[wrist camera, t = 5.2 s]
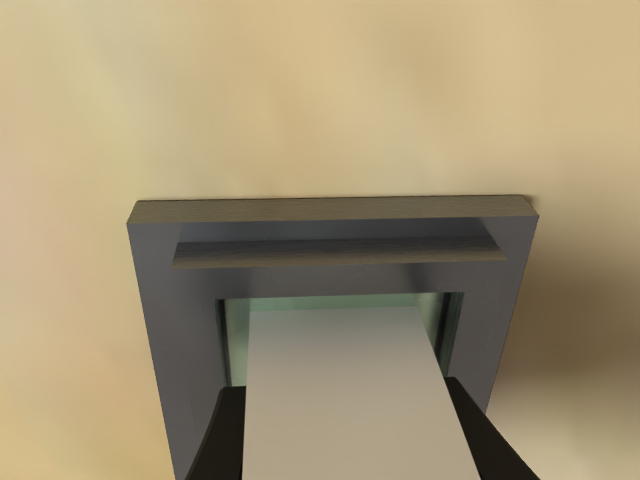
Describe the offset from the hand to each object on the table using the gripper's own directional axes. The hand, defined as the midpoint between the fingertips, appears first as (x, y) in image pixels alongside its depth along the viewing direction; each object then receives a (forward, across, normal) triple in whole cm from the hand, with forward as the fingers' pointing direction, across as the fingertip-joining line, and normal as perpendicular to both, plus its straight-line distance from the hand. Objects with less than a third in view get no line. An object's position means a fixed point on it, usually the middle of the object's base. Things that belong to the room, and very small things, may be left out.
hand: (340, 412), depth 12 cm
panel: (+3, 0, +5) cm, 6 cm away
